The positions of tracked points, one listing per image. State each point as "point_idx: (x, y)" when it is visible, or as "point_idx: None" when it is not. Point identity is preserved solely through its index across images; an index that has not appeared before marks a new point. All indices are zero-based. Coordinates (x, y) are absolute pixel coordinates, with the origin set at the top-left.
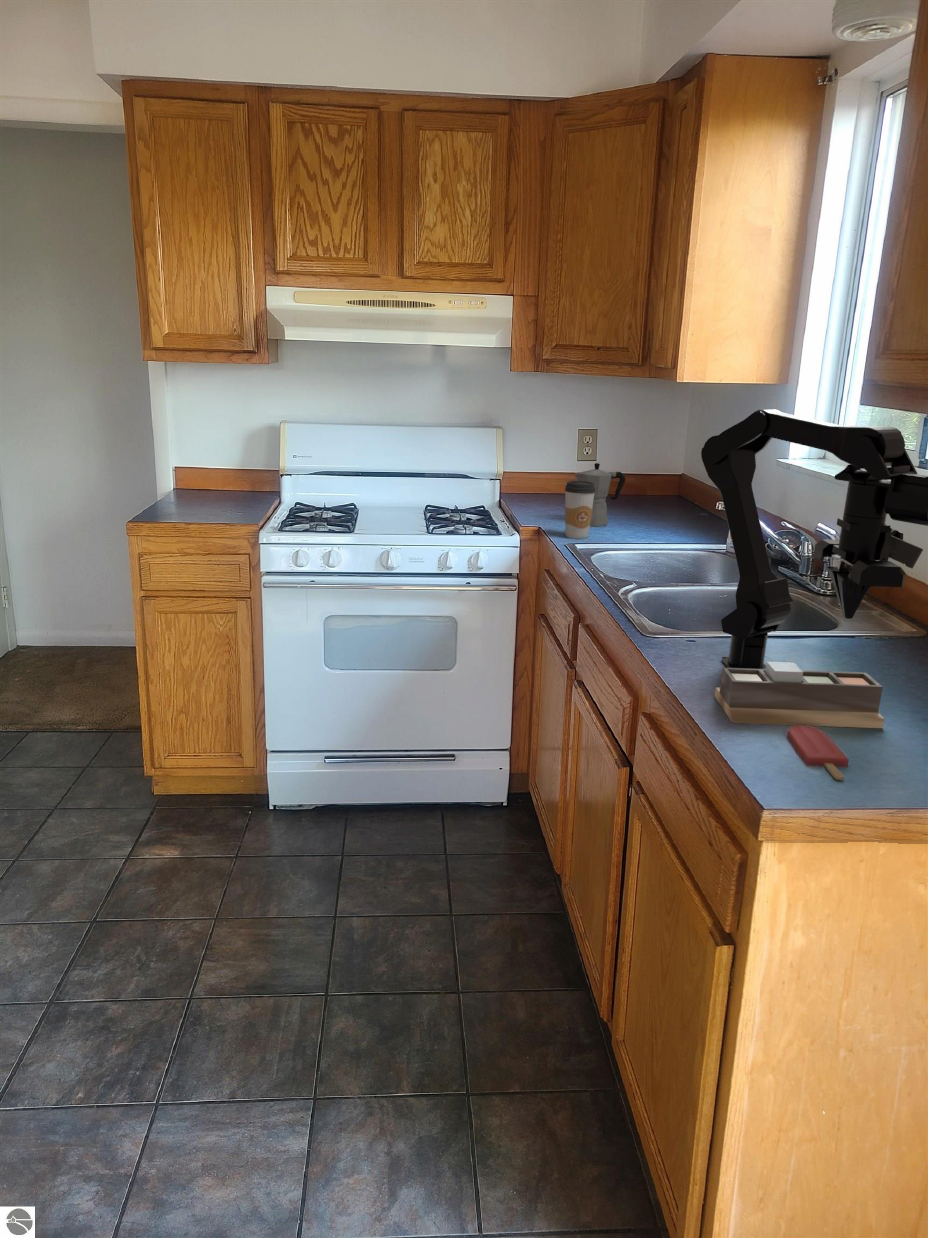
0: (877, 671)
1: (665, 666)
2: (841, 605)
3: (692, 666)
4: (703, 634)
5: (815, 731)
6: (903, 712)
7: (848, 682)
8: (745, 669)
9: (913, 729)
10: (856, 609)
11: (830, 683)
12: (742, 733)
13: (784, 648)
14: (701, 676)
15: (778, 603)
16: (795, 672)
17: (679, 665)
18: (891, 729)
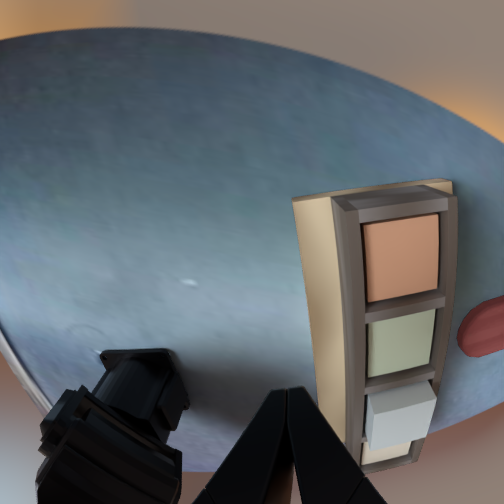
0: (61, 109)
1: (201, 465)
2: (292, 481)
3: (183, 441)
4: (32, 389)
5: (488, 322)
6: (334, 93)
7: (406, 274)
8: (358, 456)
9: (431, 110)
10: (328, 423)
11: (417, 320)
12: (452, 399)
13: (15, 284)
14: (227, 440)
15: (129, 491)
16: (432, 408)
17: (187, 453)
18: (441, 160)
